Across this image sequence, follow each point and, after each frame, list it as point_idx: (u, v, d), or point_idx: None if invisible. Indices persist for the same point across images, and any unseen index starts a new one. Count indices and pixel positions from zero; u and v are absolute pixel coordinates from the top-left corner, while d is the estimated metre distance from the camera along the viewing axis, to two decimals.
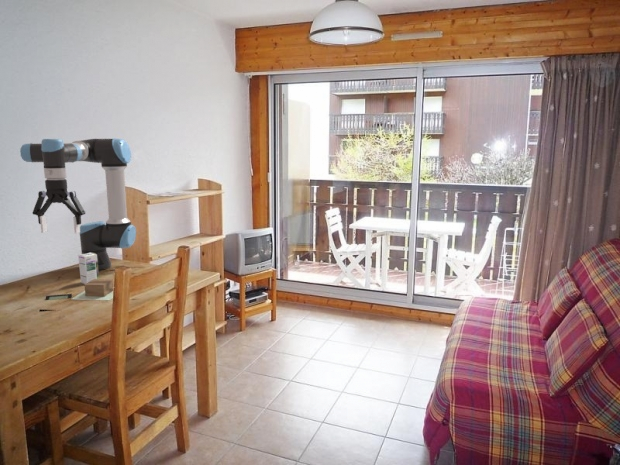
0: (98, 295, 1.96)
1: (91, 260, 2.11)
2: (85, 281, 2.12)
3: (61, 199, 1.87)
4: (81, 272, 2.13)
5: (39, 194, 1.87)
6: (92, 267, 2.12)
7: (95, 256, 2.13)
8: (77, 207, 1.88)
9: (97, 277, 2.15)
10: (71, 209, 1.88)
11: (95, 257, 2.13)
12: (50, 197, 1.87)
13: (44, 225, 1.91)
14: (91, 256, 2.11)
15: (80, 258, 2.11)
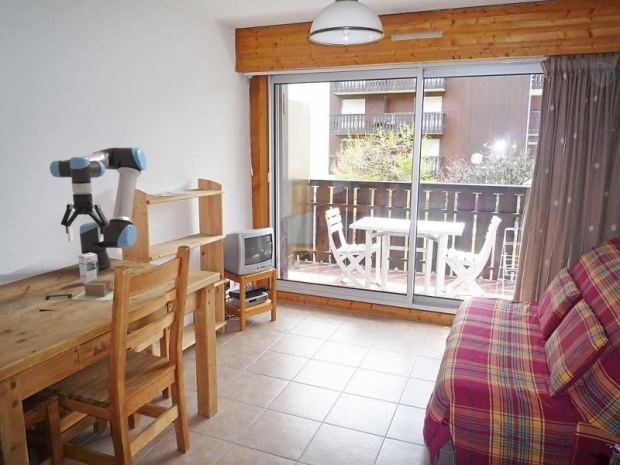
0: (98, 295, 1.96)
1: (91, 260, 2.11)
2: (85, 281, 2.12)
3: (87, 211, 2.07)
4: (81, 272, 2.13)
5: (67, 207, 2.08)
6: (92, 267, 2.12)
7: (95, 256, 2.13)
8: (101, 218, 2.08)
9: (97, 277, 2.15)
10: (96, 220, 2.08)
11: (95, 257, 2.13)
12: (77, 209, 2.07)
13: (71, 235, 2.11)
14: (91, 256, 2.11)
15: (80, 258, 2.11)
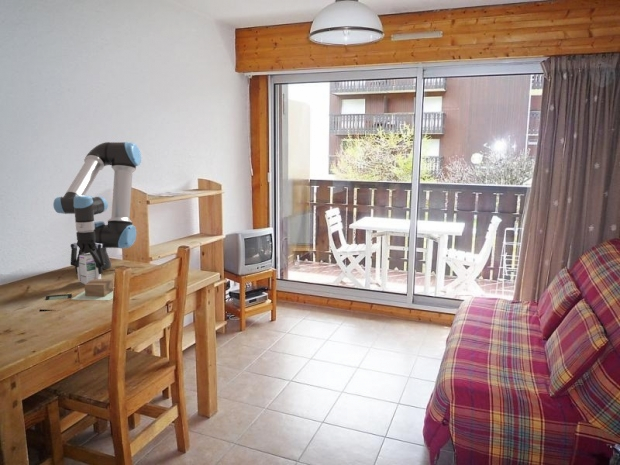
0: (98, 295, 1.96)
1: (91, 260, 2.11)
2: (85, 281, 2.12)
3: (89, 249, 2.10)
4: (81, 272, 2.13)
5: (71, 246, 2.11)
6: (92, 267, 2.12)
7: None
8: (101, 258, 2.11)
9: None
10: (95, 260, 2.12)
11: None
12: (81, 247, 2.10)
13: None
14: (91, 256, 2.11)
15: (80, 258, 2.11)
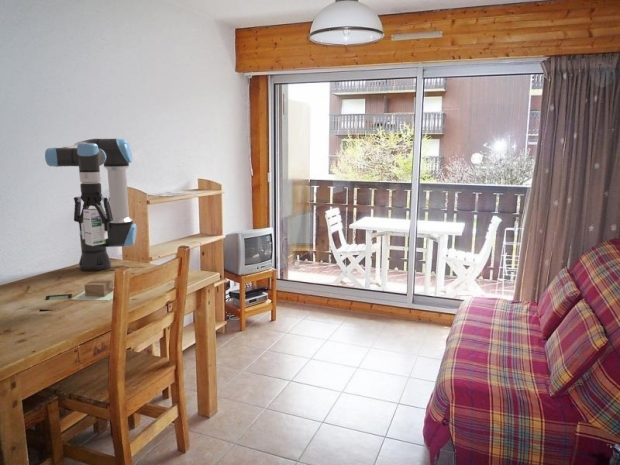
0: (98, 295, 1.96)
1: (96, 215, 1.92)
2: (90, 238, 1.92)
3: (95, 203, 1.91)
4: (85, 229, 1.93)
5: (75, 200, 1.91)
6: (98, 223, 1.92)
7: None
8: (107, 213, 1.92)
9: None
10: (101, 215, 1.92)
11: None
12: (85, 201, 1.90)
13: None
14: (96, 211, 1.92)
15: (84, 213, 1.92)
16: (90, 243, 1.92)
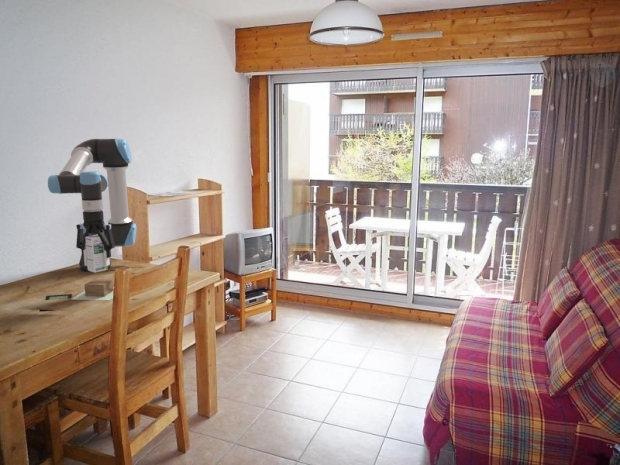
0: (98, 295, 1.96)
1: (98, 242, 1.94)
2: (92, 265, 1.94)
3: (97, 230, 1.93)
4: (88, 255, 1.95)
5: (77, 227, 1.93)
6: (100, 250, 1.94)
7: None
8: (109, 240, 1.94)
9: None
10: (103, 242, 1.94)
11: None
12: (88, 228, 1.93)
13: None
14: (99, 238, 1.94)
15: (87, 240, 1.94)
16: (92, 270, 1.94)
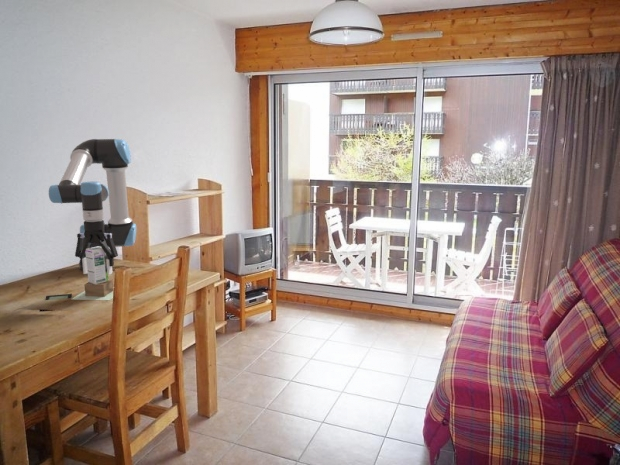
0: (98, 295, 1.96)
1: (99, 254, 1.95)
2: (93, 277, 1.95)
3: (98, 240, 1.94)
4: (88, 267, 1.96)
5: (78, 236, 1.94)
6: (100, 262, 1.96)
7: (103, 250, 1.96)
8: (111, 249, 1.94)
9: (106, 273, 1.98)
10: (106, 251, 1.95)
11: (103, 251, 1.96)
12: (89, 238, 1.93)
13: (85, 267, 1.97)
14: (99, 250, 1.95)
15: (87, 252, 1.95)
16: (93, 282, 1.96)
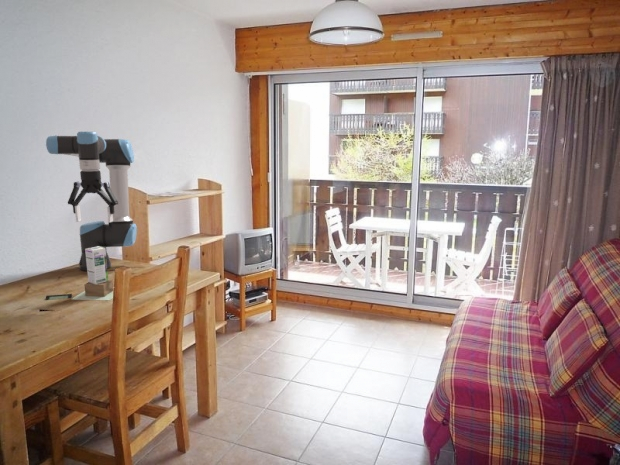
0: (98, 295, 1.96)
1: (99, 254, 1.95)
2: (93, 277, 1.95)
3: (95, 189, 1.95)
4: (88, 267, 1.96)
5: (74, 185, 1.95)
6: (101, 262, 1.96)
7: (103, 250, 1.96)
8: (111, 197, 1.96)
9: (106, 273, 1.98)
10: (105, 199, 1.96)
11: (103, 251, 1.96)
12: (85, 188, 1.95)
13: (78, 215, 1.99)
14: (99, 250, 1.95)
15: (87, 252, 1.95)
16: (93, 282, 1.96)
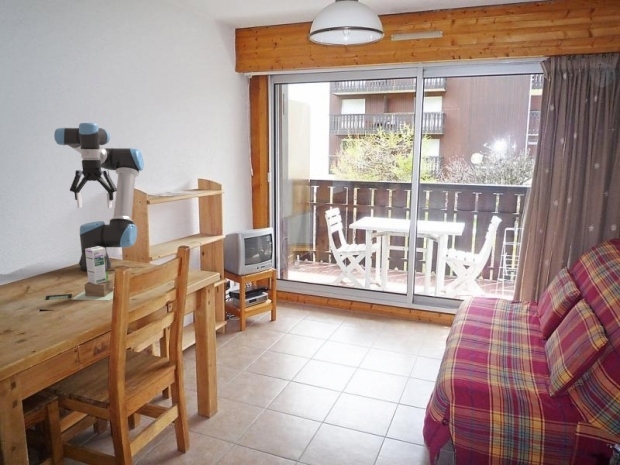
0: (98, 295, 1.96)
1: (99, 254, 1.95)
2: (93, 277, 1.95)
3: (96, 177, 2.08)
4: (88, 267, 1.96)
5: (76, 173, 2.09)
6: (101, 262, 1.96)
7: (103, 250, 1.96)
8: (110, 184, 2.09)
9: (106, 273, 1.98)
10: (105, 186, 2.09)
11: (103, 251, 1.96)
12: (86, 175, 2.08)
13: (80, 201, 2.12)
14: (99, 250, 1.95)
15: (87, 252, 1.95)
16: (93, 282, 1.96)
